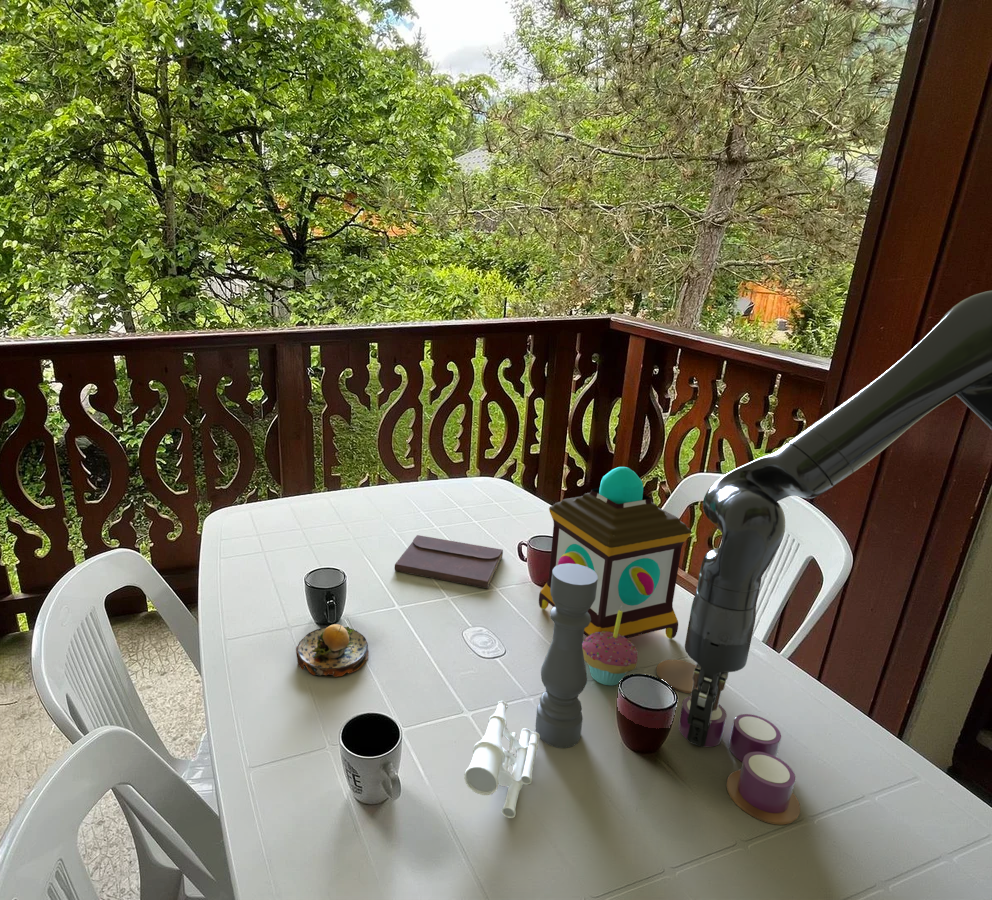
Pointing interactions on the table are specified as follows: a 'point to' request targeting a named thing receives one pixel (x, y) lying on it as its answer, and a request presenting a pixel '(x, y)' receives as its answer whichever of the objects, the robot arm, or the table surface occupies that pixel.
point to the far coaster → (677, 674)
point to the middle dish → (753, 736)
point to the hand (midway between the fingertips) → (700, 729)
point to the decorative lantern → (621, 554)
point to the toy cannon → (502, 760)
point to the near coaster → (772, 818)
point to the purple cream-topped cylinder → (715, 728)
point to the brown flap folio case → (450, 561)
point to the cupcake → (609, 655)
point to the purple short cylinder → (766, 782)
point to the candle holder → (566, 656)
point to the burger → (332, 651)
